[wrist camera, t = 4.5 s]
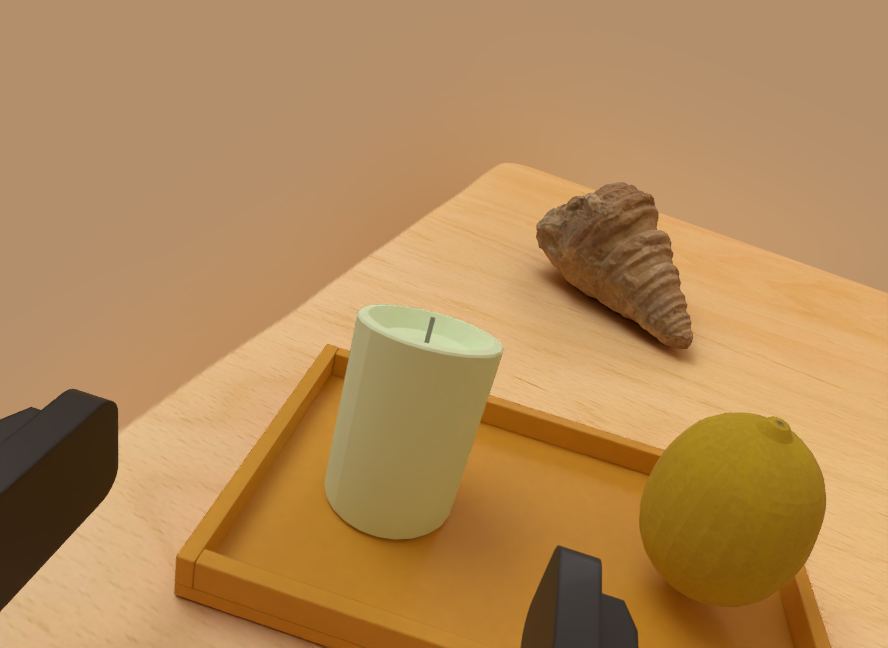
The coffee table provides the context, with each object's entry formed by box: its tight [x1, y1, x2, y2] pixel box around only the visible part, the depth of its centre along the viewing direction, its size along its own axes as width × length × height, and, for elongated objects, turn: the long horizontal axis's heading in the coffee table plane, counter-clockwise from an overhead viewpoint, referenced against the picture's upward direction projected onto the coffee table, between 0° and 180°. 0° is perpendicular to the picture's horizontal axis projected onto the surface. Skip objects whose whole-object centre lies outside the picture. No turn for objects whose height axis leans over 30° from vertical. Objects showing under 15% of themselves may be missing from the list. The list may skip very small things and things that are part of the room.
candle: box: [324, 304, 504, 540], centre depth 25 cm, size 5×5×8 cm
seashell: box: [536, 183, 693, 349], centre depth 46 cm, size 14×8×8 cm
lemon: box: [639, 413, 826, 607], centre depth 24 cm, size 6×6×8 cm
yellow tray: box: [174, 344, 831, 648], centre depth 27 cm, size 21×13×2 cm, turn 78°
